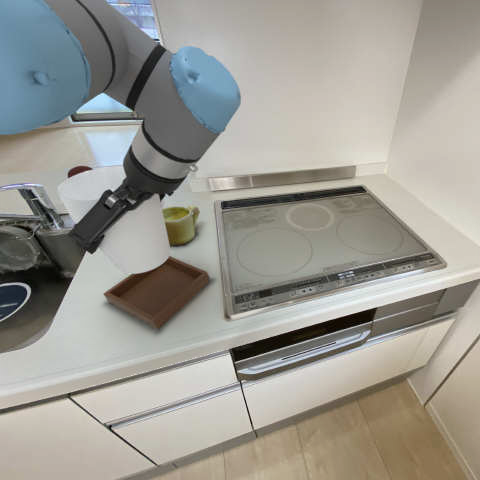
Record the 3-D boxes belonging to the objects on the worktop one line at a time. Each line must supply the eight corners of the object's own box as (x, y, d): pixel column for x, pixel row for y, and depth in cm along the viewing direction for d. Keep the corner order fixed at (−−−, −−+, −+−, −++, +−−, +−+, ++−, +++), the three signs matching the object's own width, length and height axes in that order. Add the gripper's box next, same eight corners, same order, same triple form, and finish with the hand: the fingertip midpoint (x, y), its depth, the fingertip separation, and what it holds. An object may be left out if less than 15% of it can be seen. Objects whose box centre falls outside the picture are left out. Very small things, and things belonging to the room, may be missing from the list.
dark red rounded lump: (69, 182, 95) (60, 167, 92) (95, 175, 100) (87, 160, 97) (76, 189, 92) (66, 173, 88) (102, 181, 97) (94, 166, 93)
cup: (110, 291, 46) (52, 210, 35) (105, 251, 54) (56, 174, 43) (187, 264, 52) (157, 187, 41) (172, 231, 60) (144, 159, 49)
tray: (109, 302, 56) (102, 293, 54) (166, 261, 67) (162, 252, 65) (158, 329, 52) (152, 320, 50) (210, 281, 63) (207, 272, 61)
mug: (168, 251, 67) (158, 213, 64) (155, 244, 74) (145, 209, 70) (213, 238, 75) (206, 204, 72) (197, 233, 82) (191, 202, 79)
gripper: (110, 226, 28) (74, 286, 40) (228, 150, 47) (180, 206, 59) (41, 173, 26) (24, 254, 38) (195, 115, 44) (151, 181, 56)
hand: (119, 225), depth 48 cm, fingers closed on cup, 13 cm apart
